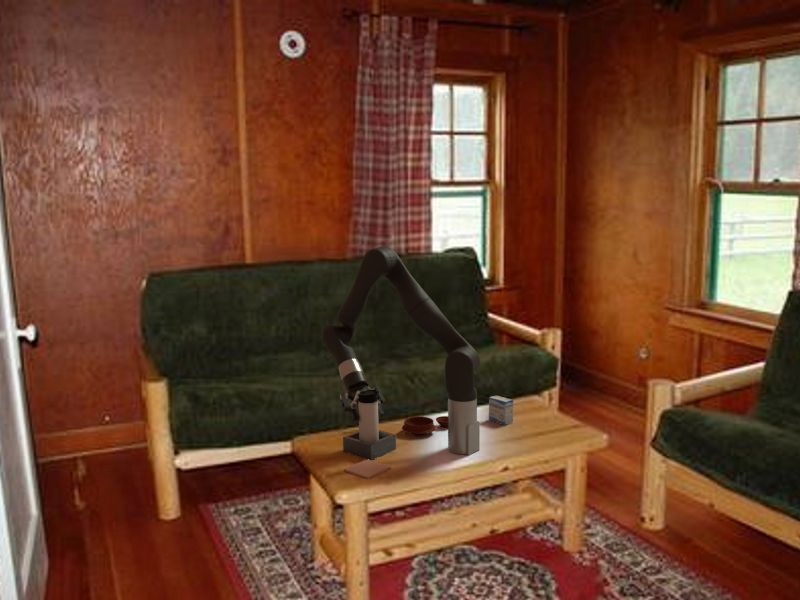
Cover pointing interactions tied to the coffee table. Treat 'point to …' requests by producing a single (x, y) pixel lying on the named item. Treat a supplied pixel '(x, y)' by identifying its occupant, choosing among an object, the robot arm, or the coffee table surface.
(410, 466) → the coffee table surface
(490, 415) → the medicine box
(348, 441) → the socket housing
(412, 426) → the pottery
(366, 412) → the travel mug
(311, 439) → the coffee table surface
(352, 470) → the rubber mat
